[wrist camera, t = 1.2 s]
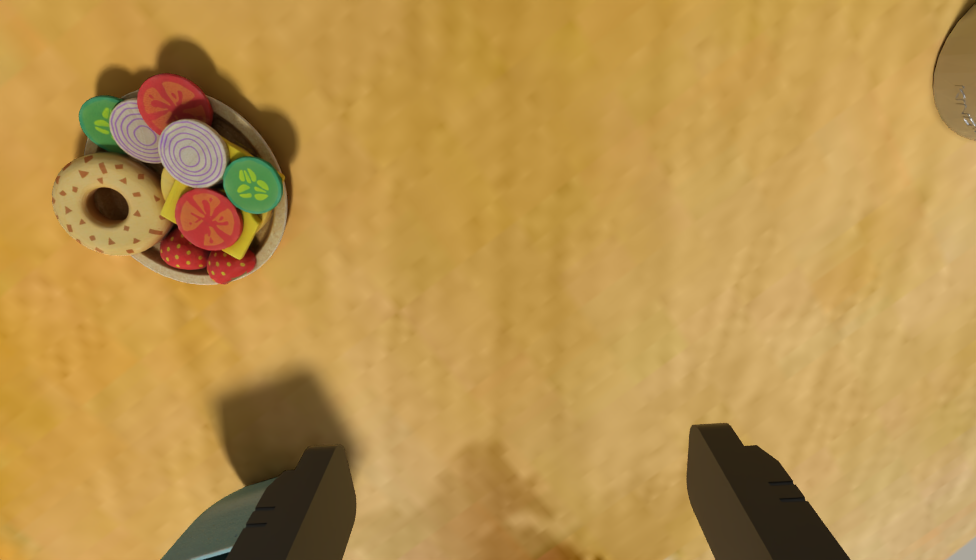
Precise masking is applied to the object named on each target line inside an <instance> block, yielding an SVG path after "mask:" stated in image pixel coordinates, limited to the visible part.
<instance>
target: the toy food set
mask: <svg viewBox="0 0 976 560" xmlns="http://www.w3.org/2000/svg"><path fill="white" fill-rule="evenodd" d="M79 121H80V125H81V128H82V130H83V132H84V133H85V134H86V136H87V137H88V139H87V142H86V146H85V153H84V156H82V157H80V158H77V159H75V160H73V161H72V162H70V163H68V164H67V165H66V166H65V167H64V168H63V169H62V170H61V171H60V172H59V174H58V176H57V178H56V180H55V182H54V186H53V191H52V204H53V209H54V212H55V215H56V217H57V219H58V221H59V222H60V224H61V226H62V227H63V228H64V229H65V231H66V232H67V233H68V234H69V235H70V236H71V237H72V238H74V239H75V240H76V241H77V242H79V243H80V244H82V245H83V246H85V247H87V248H89V249H91V250H93V251H96V252H99V253H102V254H106V255H113V256H127V255H131V256H132V257H133V258H135V259H136V260H137V261H138V262H140V263H141V264H143V265H144V266H146V267H148V268H149V269H151V270H153V271H155V272H157V273H159V274H161V275H163V276H165V277H168V278H172V279H174V280H177V281H181V282H185V283H191V284H200V285H213V284H227V283H229V282H231V281H235V280H238V279H241V278H243V277H245V276H247V275H249V274H251V273H253V272H254V271H256V270H257V269H258V268H260V267H261V266H262V265H263V264H264V263H265V262H266V261H267V260H268V259H269V258H270V257H271V256H272V254H273V253H274V251H275V250H276V248H277V247H278V245H279V243H280V241H281V238H282V236H283V233H284V230H285V225H286V220H287V210H288V203H287V192H286V186H285V182H284V180H285V176H284V175H283V174H282V172H281V169H280V167H279V165H278V162H277V160H276V158H275V156H274V154H273V153H272V151H271V149H270V148H269V146H268V145H267V143H266V142H265V140H264V139H263V138H262V136H261V135H260V134H259V133H258V132H257V131H256V129H255V128H254V127H253V126H252V125H251V124H250V123H249V122H248V121H247V120H246V119H244V118H243V117H242V116H241V115H240V114H238V113H237V112H236V111H234V110H233V109H232V108H230V107H229V106H227V105H225V104H224V103H222V102H220V101H218V100H216V99H214V98H212V97H210V96H207V95H205V94H204V93H203V91H202V90H201V89H200V88H199V87H198V86H197V85H196V84H194V83H193V82H192V81H190V80H188V79H186V78H184V77H182V76H179V75H176V74H170V73H162V74H158V75H154V76H152V77H150V78H149V79H147V80H146V81H145V82H144V83H143V84H142V85H141V87H140V89H139V90H136V91H134V92H131V93H129V94H126V95H124V96H122V97H121V98H117V97H113V96H109V95H100V96H96V97H93V98H91V99H89V100H87V101H86V102H85V103H84V104H83V105H82V107H81V109H80V112H79Z"/></svg>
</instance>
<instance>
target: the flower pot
mask: <svg viewBox="0 0 976 560" xmlns="http://www.w3.org/2000/svg"><path fill="white" fill-rule="evenodd" d="M276 478H278V477H276ZM276 478H273V479H269V480H266V481H263V482H259V483H256V484H253V485H249V486H246V487H244V488H242V489H240V490H238V491H236V492H234V493H232V494H230V495H228V496H226V497H224V498H223V499H221V500H220V501H218V502H216V503H215V504H214V505H212V506H211V507H209V508H208V509H207V510H206V511H204V512H203V513H202V514H201V515H200V516H199V517H198V518H197V519H196V520H195V521H194V522H193V523H192V524H191V525H190V526H189V527H188V529H187V530H186V531H185V532H184V533H183V534H182V535H181V537H180V538H179V539H178V540H177V541H176V542H175V544H174V545H173V546H172V547H171V548H170V549H169V551H168V552H167V553H166V554H165V555H164V556H163V557H162V559H161V560H225V559H226V558H227V556H228V554H229V552H230V551H231V549H232V547H233V545H234V544H235V542H236V540H237V538H238V537H239V535H240V533H241V531H242V530H243V528H246V523H247V521H248V519H249V517H250V516H251V514H252V512H253V511H255V507H256V505H257V504H258V502H259V500H260V498H261V497H262V495H263V493H264V491H265V490H266V488H267V487H268V486H269V485H270V484H271V483H272V482H273V481H274V480H275V479H276Z"/></svg>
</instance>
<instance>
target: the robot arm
mask: <svg viewBox="0 0 976 560" xmlns="http://www.w3.org/2000/svg"><path fill="white" fill-rule="evenodd" d="M933 92H934V99H935V105H936V107H937V110H938V112H939V114H940V117H941V119H942V120H943V121H944V122H945V123H946V125H947V126H948V127H949V128H950V129H951V130H953V131H954V132H956V133H957V134H959V135H960V136H962V137H965V138H968V139H971V140H975V141H976V4H975V5H973V6H972V7H971V8H970V9H969V11H968V12H967V13H966V14H965V15H964V16H963V17H962V18H961V19H960V20H959V21H958V23H957V24H956V26H955V27H954V29H953V30H952V32H951V33H950V35H949V36H948V38H947V40H946V42H945V44H944V46H943V48H942V50H941V53H940V55H939V58H938V61H937V65H936V69H935V73H934V85H933ZM687 490H688V495H689V499H690V503H691V506H692V508H693V511H694V513H695V515H696V517H697V520H698V522H699V524H700V526H701V528H702V531H703V533H704V535H705V537H706V540H707V542H708V544H709V546H710V548H711V551H712V553H713V555H714V557H715V560H850V558H849V557H848V556H847V554H846V553H845V552H844V550H843V549H842V547H841V546H840V545H839V543H838V542H837V541H836V539H835V538H834V536H833V535H832V534H831V532H830V531H829V530H828V528H827V527H826V526H825V524H824V523H823V521H822V520H821V519H820V517H819V516H818V515H817V513H816V512H815V510H814V509H813V508H812V506H811V505H810V504H809V502H808V501H805V497H804V495H803V494H802V493H801V491H800V490H799V489H798V487H797V486H796V485H794V484H793V480H792V479H791V478H790V476H789V475H788V474H787V472H786V471H785V469H784V468H783V467H782V465H781V464H780V463H779V461H777V460H776V459H775V458H773V457H772V456H771V455H769V454H768V453H767V452H765V451H764V450H762V449H761V448H760V447H758V446H757V445H753V446H744V445H743V444H742V442H741V441H740V439H739V438H738V436H737V435H736V433H735V432H734V430H733V429H732V427H731V426H730V425H729V424H727V423H717V424H700V425H692V426H691V428H690V434H689V449H688V464H687ZM355 515H356V495H355V490H354V486H353V482H352V478H351V474H350V469H349V465H348V461H347V457H346V453H345V449H344V447H343V446H342V445H323V446H310V447H308V448H307V449H306V450H305V452H304V454H303V456H302V457H301V459H300V461H299V463H298V465H297V467H296V469H295V470H287V471H284V472H283V473H282V474H281V475H280V476H279V477H278V478H276V479H275V480H274V481H273V482H272V483H271V484H270V485H269V486H268V487H267V488H266V490H265V491H264V493H263V495H262V497H261V498H260V500H259V502H258V504H257V505H256V507H255V511H253V512H252V514H251V516H250V517H249V519H248V521H247V523H246V528H243V530H242V531H241V533H240V535H239V537H238V538H237V540H236V542H235V544H234V545H233V547H232V549H231V551H230V552H229V554H228V556H227V558H226V559H225V560H342V558H343V555H344V552H345V549H346V546H347V543H348V540H349V537H350V534H351V531H352V528H353V525H354V521H355Z"/></svg>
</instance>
